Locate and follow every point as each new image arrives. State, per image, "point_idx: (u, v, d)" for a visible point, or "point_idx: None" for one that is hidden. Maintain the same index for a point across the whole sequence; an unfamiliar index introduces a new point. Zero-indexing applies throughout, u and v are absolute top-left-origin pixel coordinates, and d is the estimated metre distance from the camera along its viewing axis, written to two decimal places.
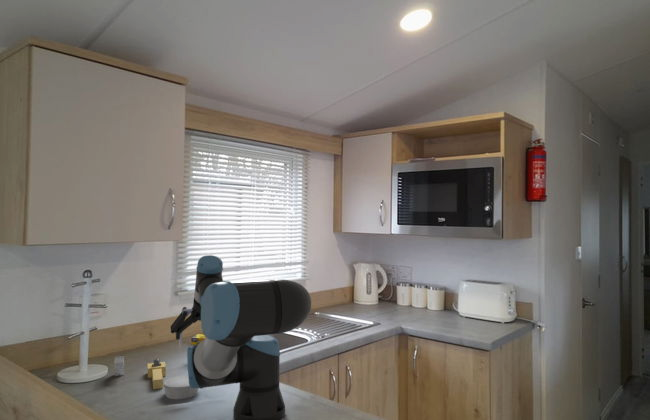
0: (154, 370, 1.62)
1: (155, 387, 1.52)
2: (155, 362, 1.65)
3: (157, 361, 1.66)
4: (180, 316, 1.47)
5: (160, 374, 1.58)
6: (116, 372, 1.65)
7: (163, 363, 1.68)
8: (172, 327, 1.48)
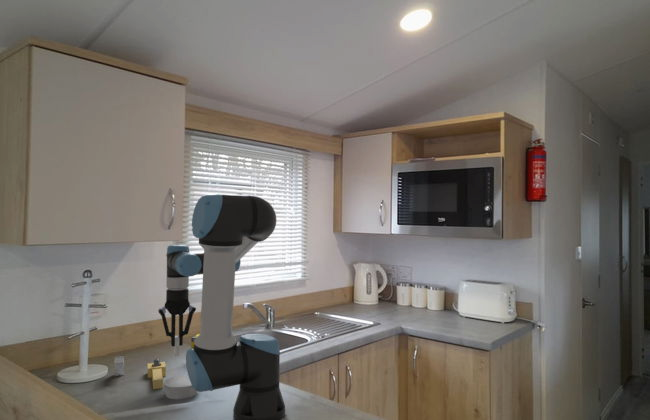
0: (154, 370, 1.62)
1: (155, 387, 1.52)
2: (155, 362, 1.65)
3: (157, 361, 1.66)
4: (162, 317, 1.60)
5: (160, 374, 1.58)
6: (116, 372, 1.65)
7: (163, 363, 1.68)
8: (165, 331, 1.61)
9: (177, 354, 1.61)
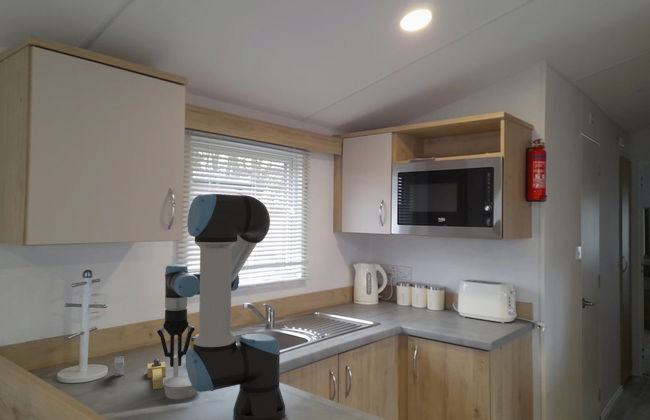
0: (154, 370, 1.62)
1: (155, 387, 1.52)
2: (155, 362, 1.65)
3: (157, 361, 1.66)
4: None
5: (160, 374, 1.58)
6: (116, 372, 1.65)
7: (163, 363, 1.68)
8: (164, 352, 1.60)
9: (176, 375, 1.60)
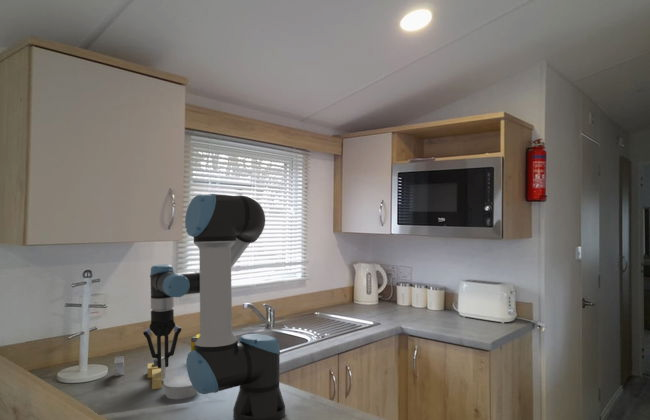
0: (154, 370, 1.62)
1: (154, 387, 1.52)
2: (155, 362, 1.65)
3: None
4: (147, 339, 1.58)
5: (159, 374, 1.57)
6: (116, 372, 1.65)
7: None
8: (151, 353, 1.59)
9: (163, 376, 1.59)
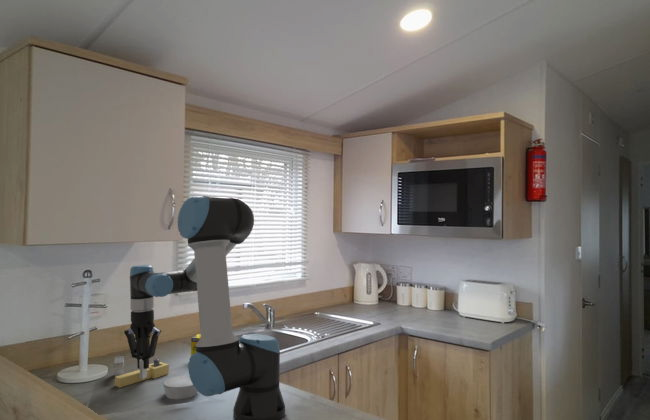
0: None
1: (115, 384, 1.54)
2: (155, 362, 1.65)
3: (157, 361, 1.66)
4: None
5: (133, 373, 1.58)
6: (116, 372, 1.65)
7: (163, 365, 1.66)
8: None
9: (141, 377, 1.58)
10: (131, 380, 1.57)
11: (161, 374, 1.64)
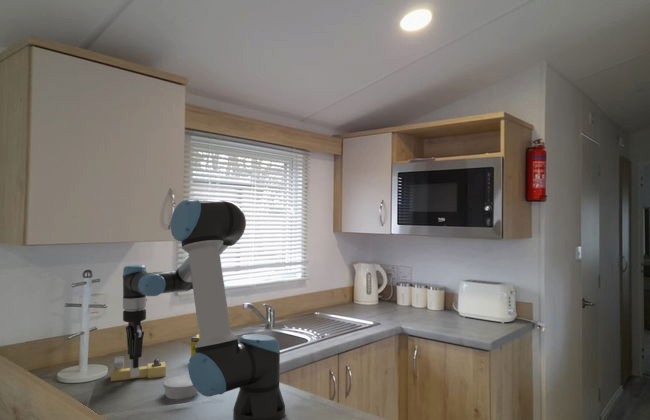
0: (142, 367, 1.65)
1: None
2: (155, 362, 1.65)
3: (157, 361, 1.66)
4: None
5: (127, 370, 1.62)
6: None
7: (159, 366, 1.64)
8: None
9: (130, 375, 1.60)
10: (124, 375, 1.61)
11: (156, 375, 1.63)
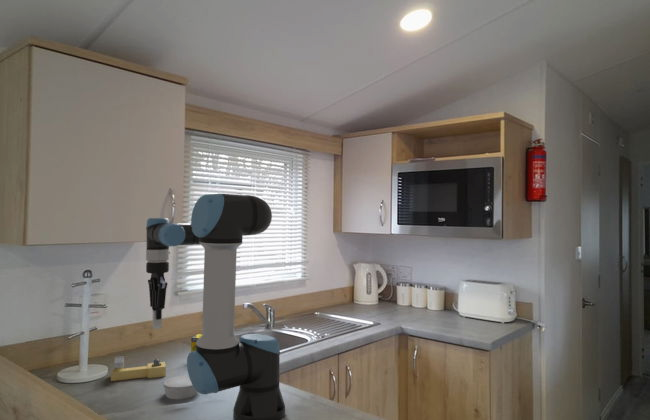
0: (142, 367, 1.65)
1: None
2: (155, 362, 1.65)
3: (157, 361, 1.66)
4: None
5: (127, 370, 1.62)
6: None
7: (159, 366, 1.64)
8: None
9: (153, 327, 1.61)
10: (124, 375, 1.61)
11: (156, 375, 1.63)
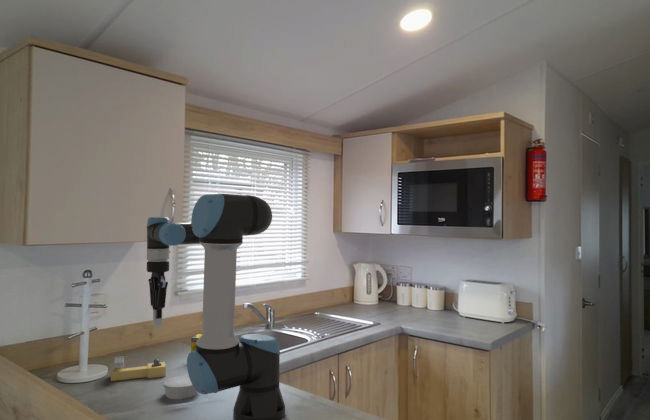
0: (142, 367, 1.65)
1: None
2: (155, 362, 1.65)
3: (157, 361, 1.66)
4: None
5: (127, 370, 1.62)
6: None
7: (159, 366, 1.64)
8: None
9: (153, 326, 1.61)
10: (124, 375, 1.61)
11: (156, 375, 1.63)
